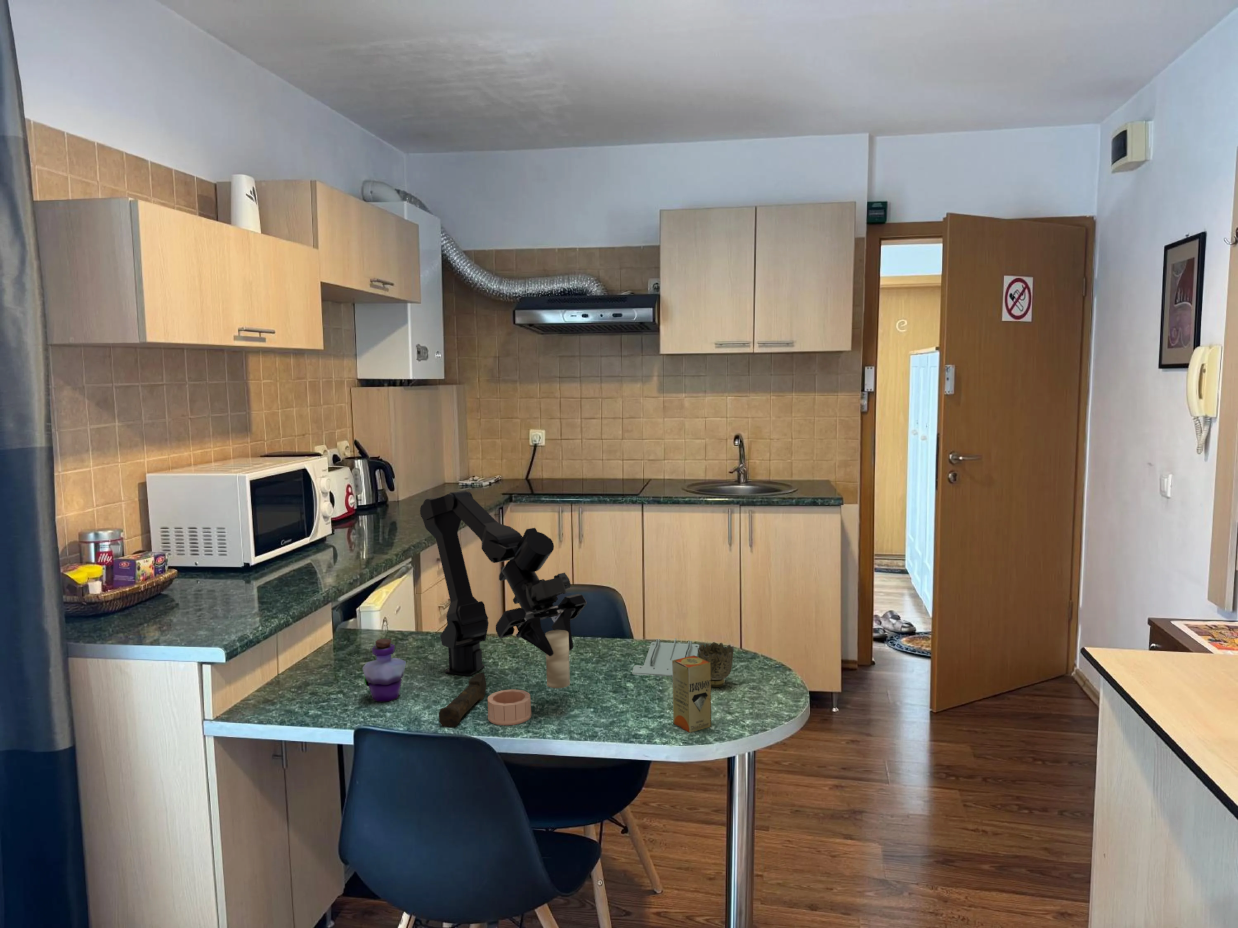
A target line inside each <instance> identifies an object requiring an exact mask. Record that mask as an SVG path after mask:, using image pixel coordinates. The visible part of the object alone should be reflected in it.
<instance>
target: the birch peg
mask: <svg viewBox="0 0 1238 928" xmlns="http://www.w3.org/2000/svg"><path fill="white" fill-rule="evenodd" d="M544 634H545V636H546V638H547V640H548V641H549V643H550V645H551V648H552V650H553V653H554V654H553V655H552V656H549V655H547V654H546V653H545V664H546V667H545V668H546V685H547V687H548V688H551V689H564V688H567V687H569V686H570V685H571V676H570V674H571V673H570V668H571V667H570V650H569V632H568V631H565V630H553V629H552V630H549V631H546V632H545V633H544Z"/></svg>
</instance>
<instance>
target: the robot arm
mask: <svg viewBox="0 0 1238 928" xmlns="http://www.w3.org/2000/svg"><path fill="white" fill-rule="evenodd" d="M419 512H420V513H419V514H420V516H421V519H422V521H423V524H424V527H425V529H426V530H427V532H429V534H431V536H433V538H434V539H435V542H436V546H437V550H438V554H439V558H440V563H441V566H442V570H443V571H442V572H443V574H444V580H445V584H446V589H447V592H448V596H449V601H450V603H449V606H448V609H447V612H446V615H445V616H446V623H447V625H446V626H445V628H444V629H443V631H442V632H441V634H440V641H441V645H442V646H444V647H445V648H447V650H448V668H447V669H445V671H444V672H445V674H452V675H459V676H460V675H461V676H469V677H470V676H472V675H473V674H475V673H477V672H478V671H480V670H481V669H484V668H485V664H483V651H482V650H483V649H481V642H485V641H486V640H487V635H488V629H489V620H488V619H489V616H488V614H487V611H486V606H485V604H484V601H483V600H481V601H478V600H477V598H476V597H475V596H473V592H472V588H471V587H472V586H471V584H470V579H469V575H468V571H467V567H466V563H465V557H464V554H463V549H462V547H461V542H460V538H459V533H458V532H459V529H460V527H461V524H462V522H463V523H464V524H465V525H466V526H467V527H468V528H469V529H470V530H471V531H472V532H473V533H474V534H475V535H476V537H478V538H479V540H480V541H481V550H482V551H483V553H484V555H485V556H486V557H487V559H488V560H489V561H490V562H491V563H494V564H496V563H497V564H498V563H502V562H506V564H505V565H504V566H501V567H500V573H499V575H498V581H500V582H502V581H507V584H508V585H509V587H510V589H511V591H512V593H513V596H514V597H513V598H512V602H513V603H514V605H516V604H519V606H520V607H517V608H512V609H509V610H505V611H504V612H503V613H502V615H501V616H500V618H499V619H498V621H497V623H495V632H496V634H497V635H498V637H499V639H504V638H508V637H511V636H513V635H514V632H515V628H514V627H516V628H517V629H516V630H517V633H516V634H515V637H516V638H517V639H518V638H521V639H523V640H524V641H526V642H528V643H530V644H531V645H533V646H534V647H535V648H537V649H539V650H540V651H541V652H543V653H544V654H545V655H546V654H547V655H549V656H552V655H553V654H554V653H553V650H552V648H551V645H550V643H549V641H548V640H547V638H546V635H545V633H544V630H543V628H542V625H541V624H542V623H541V621H542V620H546V619H549V618H551V620H552V621H553V624H552V626H551V629H552V630H565V631H568V632H569V651H572V650H574V643H573V641H574V640H573V635H572V629H571V621H572V620H575V619H576V618H577V617H578V616H579V615H580V614H581V612H582V611H583V609H584V608H585V607H586V606H587V604H588V602H587V600H586V598H585V597H584V595H583V594H581V593H576V594H575V593H574V594H571V595H565V597H563V599H562V600H561V602H560V603H559V604H557V605H554V603H556V602H557V601H558V600H559V598H558V596H559V595H560V596H561V595H562V594H563V595H564V594H566V593H567V590H568V589H570V588H571V585H572V584H571V580H570V578H569V577H568V575H567V574H566V572H561V573H558V574H556V575H554V576H553V578H550V579H546V580H545V579H544V578H542V579H540V578H539V576H538V575H537V573H536V572H538V571H540V570H541V569H542V567H543V566H544V564H545V563H546V562H547V560H548V558H550V556H551V554H552V553H553V551H554V548H555V545H554V541H553V540H552V538H550V537H549V536H548V535H546V534H545V533H543V532H539V531H538V530H537V528H536V527H531V528H526V530H525V531H524V533H523V535H522V534H521V533H520V532H519V531H518V530H516V529H515V528H513V527H511V526H509V525H506V524H502V523H499V522H498V521H497V520H496V519H495V518H494V517H493V516H492V515H491V514H490V513H489V512H488V511H486V509H485V508H484V507H482V506H481V505H480V503H478V502H477V501H476V499H474V497H473V494H472V493H471V492H470V491H467V490H458V491H451V492H449V493H447V494H445V495H442V496H440V497H433V498H432V497H431V498H426V499H424V501H423V503H422V504H421V506H420V508H419Z"/></svg>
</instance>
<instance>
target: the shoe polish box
mask: <svg viewBox="0 0 1238 928" xmlns="http://www.w3.org/2000/svg"><path fill="white" fill-rule="evenodd" d="M672 671H673V676H672V708H673V709H672V711H673V712H672V713H673V715H672V716H673V717H672V718H673V721H672V723H673V725H675V726H677V727H679V728H680V729H683V731H685V732H687V733H694V732H697V731H700V730H703V729H708V728H710V727H712V686H711V665H710V662H708V661H706V660H704V659H701V658H699V656H698V655H697V656H694V655H693V656H689V657H685V658H680V659H676V660H672Z"/></svg>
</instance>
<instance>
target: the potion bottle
mask: <svg viewBox="0 0 1238 928" xmlns="http://www.w3.org/2000/svg"><path fill="white" fill-rule="evenodd" d="M395 649H396V648H395V644H394V643H393V644H392V640H391V639H389V638H379V639H377V640H375V645H374V646H373V647H372V648H371V652H372V655H373V656H376V659H375V660H370V661H367V662H366V663H365V664H364V665H363V666H362V671H363V675H364V676H363V680H364V684H365V685H366V686H367V687H368V689H369V691H370V695H371V697H372V698H371V701H373V702H375V703H390V702H393V701H397V700H398V699H399V698H400V696H401V694H400V693H401V692H400V691H401V686H402V679H403V677H404V675H405V674H404V673H405V669H406V662H407V661H405V660H403V659H401V658H399V657H392V655H393V654H394V653H395V652H396V650H395Z"/></svg>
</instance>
